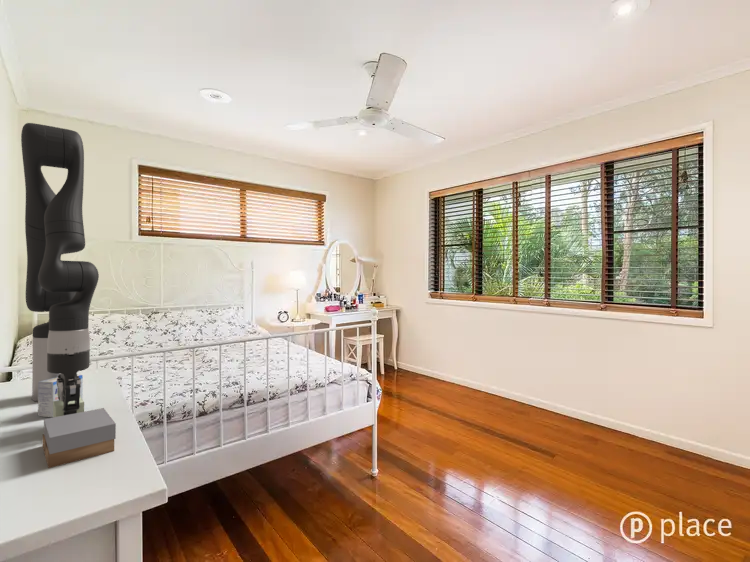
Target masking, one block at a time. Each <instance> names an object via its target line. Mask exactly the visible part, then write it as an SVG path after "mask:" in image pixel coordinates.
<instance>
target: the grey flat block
mask: <svg viewBox="0 0 750 562" xmlns="http://www.w3.org/2000/svg"><path fill="white" fill-rule="evenodd" d="M116 424H117V423H116V422H115V421H114V420H113V418H112V417H111V415H110V414H109V413H108V412H107V410H106V409H105V408H104V407H103V408H96V409H91V410H86V411H85V410H84V412H80V413H74V414H69V415H64V416H59V417H53V418H52V417H47V418H44V419H43V434H44V436H45V439H46V443H47V446H48V450H49V454H53V453H58V452H62V451H66V450H70V449H74V448H78V447H83V446H87V445H91V444H95V443H99V442H104V441H108V440H112V439H114V440H116V438H117V437H116V436H117V435H116V434H117V433H116V427H117V426H116Z"/></svg>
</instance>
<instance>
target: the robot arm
mask: <svg viewBox="0 0 750 562" xmlns="http://www.w3.org/2000/svg"><path fill="white" fill-rule="evenodd" d="M20 136H21V138H20V140H21V141H20V142H21V156H22V164H23V173H24V184H25V185H24V187H25V212H24V213H25V214H24V224H25V225H24V226H25V227H24V228H25V229H24V231H25V233H24V234H25V246H26V257H27V258H26V260H27V261H26V279H25V280H26V282H25V303H26V304H25V305H26V307H27V309H28V310H29V311H31V312H33V313H34V312H35V313H46V312H47V313H48V321H47V322H45V323H44V322H43V323H41V324H38V325H36V326H34V327H33V328H32V364H31V365H32V375H31V377H32V379H31V380H32V381H31V383H32V385H31V386H32V387H31V392H32V393H31V394H32V395H31V398H32V399H31V400H32V401H35V402H38V382H40V381H44V380H48V379H52V378H56V377H58V379H57V387H58V391H57V394H58V399H59V400H60V401H61V402H63V412H64V415H69V414H74V413H77V410H78V409H79V407H80V405H79V399H80V388H81V378H79V376H77V374H78V372H80V371H81V372H82V371H86V370H88V368H90V366H91V365H90V364H91V363H90V361H91V360H90V357H91V356H90V355H91V353H90V352H91V351H90V348H91V345H90V344H91V343H90V341H91V339H90V338H91V337H90V332H89V331H90V329H89V315H90V314H89V313H90V307H91V303H92V300H93V297H94V293H95V290H96V288H97V285H98V282H99V269H98V268H97V267H96V265H95V264H94V263H92V262H91V261H85V260H82V261H81V260H62V259H61V256H63V255H67V254H73V253H79V252H81V251H83V250H84V249H85V248H86V237H85V236H86V235H85V228H84V226H85V225H84V217H83V216H84V215H83V203H84V202H83V200H84V180H85V179H84V177H85V151H84V149H85V148H84V143H83V140H82V139H83V138H82V136H81V135H80V134H79V132H77V131H75V130H71V129H67V128H62V127H58V126H57V127H56V126H51V125H46V124H41V123H34V122H27V123H25V124H24V125H23V126H22V128H21V135H20ZM42 167H51V168H56V169H57V168H58V169H65V170H66V169H67V175H66V179H65V182H64V184H63V185H62V186H61V188H60V189H59V191H58V192H57V193H55V192H54V190H53V189H52V188H51V186H50V185H49V183H48V181H47V180H46V177H45V176H44V173H43V171H42ZM70 401H74V404H73V405H68V402H70Z"/></svg>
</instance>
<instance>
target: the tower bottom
mask: <svg viewBox="0 0 750 562" xmlns="http://www.w3.org/2000/svg"><path fill="white" fill-rule="evenodd" d="M42 450H43V454H44V457H45V461H46V464H47V468H48V469H51V468H54V467H57V466H58V467H59V466H62V465H66V464H69V463H73V462H78V461H81V460H85V459H89V458H92V457H93V458H94V457H96V456H100V455H104V454H108V453H113V452H115V439H112V440H108V441H104V442H99V443H95V444H91V445H87V446H83V447H78V448H74V449H70V450H66V451H62V452H58V453H53V454H49V450H48V446H47V443H46V439H45V436H44V433H42Z"/></svg>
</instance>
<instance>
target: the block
mask: <svg viewBox="0 0 750 562" xmlns="http://www.w3.org/2000/svg"><path fill="white" fill-rule="evenodd" d="M73 404H74V401H70V402H68V405H73ZM79 405H80V407H79V409H78V410H77V413H80V412H85V401H84V399H83V397H82V398H81V397H80V399H79ZM59 416H64V412H63V402H61V401H60V400H59V401H53V417H59Z"/></svg>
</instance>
